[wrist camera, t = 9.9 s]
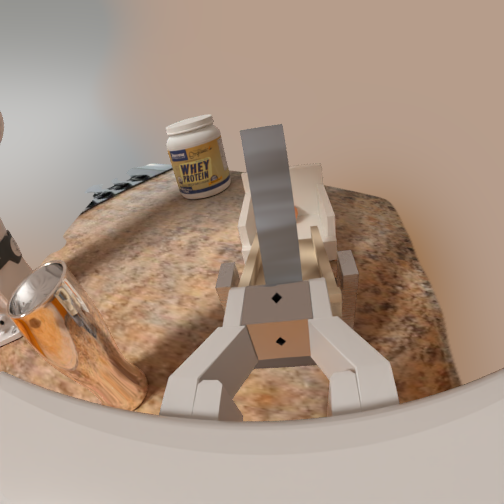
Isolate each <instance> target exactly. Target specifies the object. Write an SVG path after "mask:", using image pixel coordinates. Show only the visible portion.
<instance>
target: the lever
mask: <svg viewBox="0 0 504 504" xmlns="http://www.w3.org/2000/svg"><path fill="white" fill-rule="evenodd" d="M240 134H241V139H242V145H243V151H244V157H245V163H246V169H247V175H248V181H249V187H250V192H251V198H252V204H253V210H254V216H255V222H256V228H257V233H256V235H255V238H254V241H253V244H252V246H251V249H250V252H249V255H248V258H247V261H246V264H245V267H244V270H243V273H242V276H241V279H240V282H239V285H238V287H246V286H255V285H267V284H277V283H286V282H294V281H302V280H308V281H309V279H315V278H322V277H324V278H325V279H326V284H327V289H328V294H329V299H330V304H331V310H332V315H333V316H338V317H339V318H340V319H342V293H341V290H340V287H337V280H336V278H334V275H333V272H332V268H331V265H330V262H329V259H328V256H327V253H326V250H325V247H324V244H323V241H322V238H321V235H320V232H319V229H318V227H317V226H310V229H311V238H308V239H299V240H298V233H297V225H296V216H295V208H294V201H293V193H292V186H291V178H290V171H289V165H288V158H287V151H286V145H285V139H284V133H283V126H282V124H280V125H272V126H266V127H259V128H253V129H247V130H241V131H240ZM307 365H317V364H316V363H315V361H314V360H313V359H312V358H311V356H301V357H286V358H275V359H264V360H258V363H257V364H256V366H255V367H254V369H258V368H279V367H295V366H307Z"/></svg>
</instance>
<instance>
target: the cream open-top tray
mask: <svg viewBox="0 0 504 504" xmlns="http://www.w3.org/2000/svg"><path fill="white" fill-rule="evenodd" d="M289 171H290V178H291V186H292V193H293V201H294V206H295V207H296V209H297V211H298V216H297V219H296V225H297V233H298V240H299V239H308V238H311V229H310V226H317V227H318V229H319V232H320V235H321V238H322V241H323V244H324V247H325V250H326V253H327V256H328V259H329V261H330V260H337V239H336V232H335V214H334V212H333V209H332V206H331V203H330V201H329V198H328V195H327V193H326V190H325V187H324V185H323V178H322V167H321V164H320V163H315V164H306V165H297V166H289ZM241 177H242V181H243V186H244V190H245V196H244V200H243V205H242V209H241V214H240V218H239V223H238V231H239V235H240V239H241V243H242V254H243V258H244V262H245V264H246V261H247V258H248V255H249V252H250V249H251V246H252V244H253V241H254V238H255V235H256V233H257V228H256V222H255V216H254V210H253V204H252V198H251V192H250V187H249V181H248V175H247V172H245V173H242V174H241Z"/></svg>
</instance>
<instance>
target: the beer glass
mask: <svg viewBox="0 0 504 504" xmlns="http://www.w3.org/2000/svg"><path fill="white" fill-rule="evenodd" d="M6 310H7V315H8V316H9V317H10V318H11V320H12V321H13V322H14V324H15V325H16V327H17V328H18V330H19V331H20V332H21V334H22V335H23V336H24V338H25V339H26V340H27V342H28V343H29V344H30V345H31V346H32V347H33V349H34V350H35V351H36V352H37V353H38V354H39V355H40V356H41V357H42V358H43V359H44V360H45V361H46V362H48V363H49V364H50V365H51V366H53V367H54V368H55V369H57V370H58V371H59V372H61V373H62V374H64V375H65V376H67V377H69V378H70V379H72V380H74V381H75V382H77V383H79V384H80V385H82V386H84V387H85V388H87V389H88V390H90V391H91V392H92V393H93V394H94V395H95V396H96V397H97V398H98V399H99V401H100V402H101V403H102V404H103V405H106V406H110V407H115V408H119V409H124V410H130V411H133V410H135V409H136V408H137V407H138V406H139V405H140V404H141V403H142V402H143V400H144V399H145V397H146V394H147V390H148V382H147V378H146V376H145V374H144V373H143V372H142V371H141V370H140V369H139V368H138V367H136V366H135V365H134V364H132V363H131V362H129V361H128V360H127V359H126V358H125V357H124V356H123V354H122V353H121V351H120V350H119V348H118V346H117V344H116V342H115V340H114V338H113V336H112V335H111V333H110V331H109V329H108V327H107V325H106V323H105V321H104V319H103V317H102V316H101V314H100V312H99V311H98V309H97V307H96V306H95V304H94V303H93V301H92V300H91V298H90V297H89V296H88V294H87V293H86V291H85V290H84V289H83V287H82V286H81V285H80V283H79V282H78V281H77V279H76V278H75V277H74V276H73V274H72V273H71V272H70V270H69V269H68V267H67V266H66V264H65V262H63V261H61V260H54V261H50V262H47V263H45V264H43V265H41V266H39V267H38V268H36V269H35V270H33V271H32V272H31V273H30V274H28V275H27V276H26V277H25V278H24V279H23V280H22V281H21V282H20V283H19V284H18V286H17V287H16V288H15V290H14V291H13V293H12V294H11V296H10V298H9V301H8V303H7V309H6Z"/></svg>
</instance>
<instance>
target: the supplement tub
mask: <svg viewBox="0 0 504 504" xmlns="http://www.w3.org/2000/svg"><path fill="white" fill-rule="evenodd" d="M213 122H214V121H213V119H212V115H202V116H197V117H193V118H189V119H186V120H182V121H179V122H176V123H174V124H171V125H169V126H167V127H166V131H167V133H166V134H167V135H168V136H169V138H168V140H167V142H166V147H167V150H168V154H169V157H170V161H171V163H172V167H173V170H174V174H175V177H176V180H177V183H178V187H179V190H180V192H181V194H182V196H184V197H185V198H188V199H200V198H206V197H210V196H213V195H216V194H218V193H220V192H222V191H223V190H225V189H226V188H227V187H228V186H229V185H230V183H231V177H230V174H229V170H228V166H227V161H226V157H225V153H224V148H223V144H222V139H221V135H220V131H219V129H218V128H217V127H216V126H214V125H212V124H213Z"/></svg>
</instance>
